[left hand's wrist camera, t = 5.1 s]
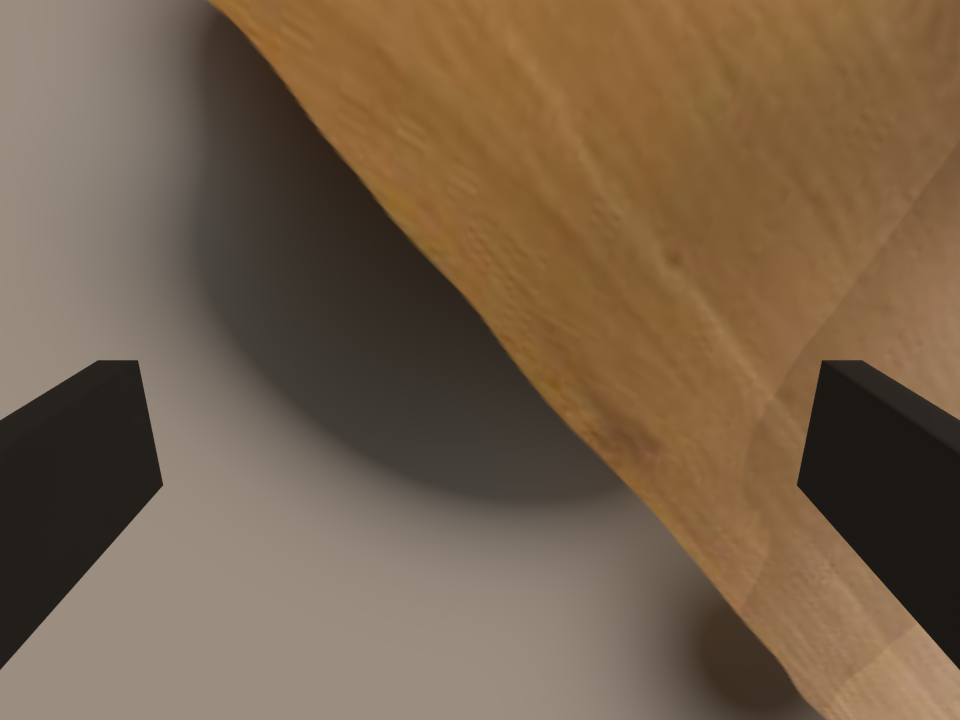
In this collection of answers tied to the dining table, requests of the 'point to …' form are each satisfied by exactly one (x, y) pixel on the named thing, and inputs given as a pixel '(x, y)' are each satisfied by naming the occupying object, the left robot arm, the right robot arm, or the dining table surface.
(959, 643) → the left robot arm
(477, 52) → the dining table surface
